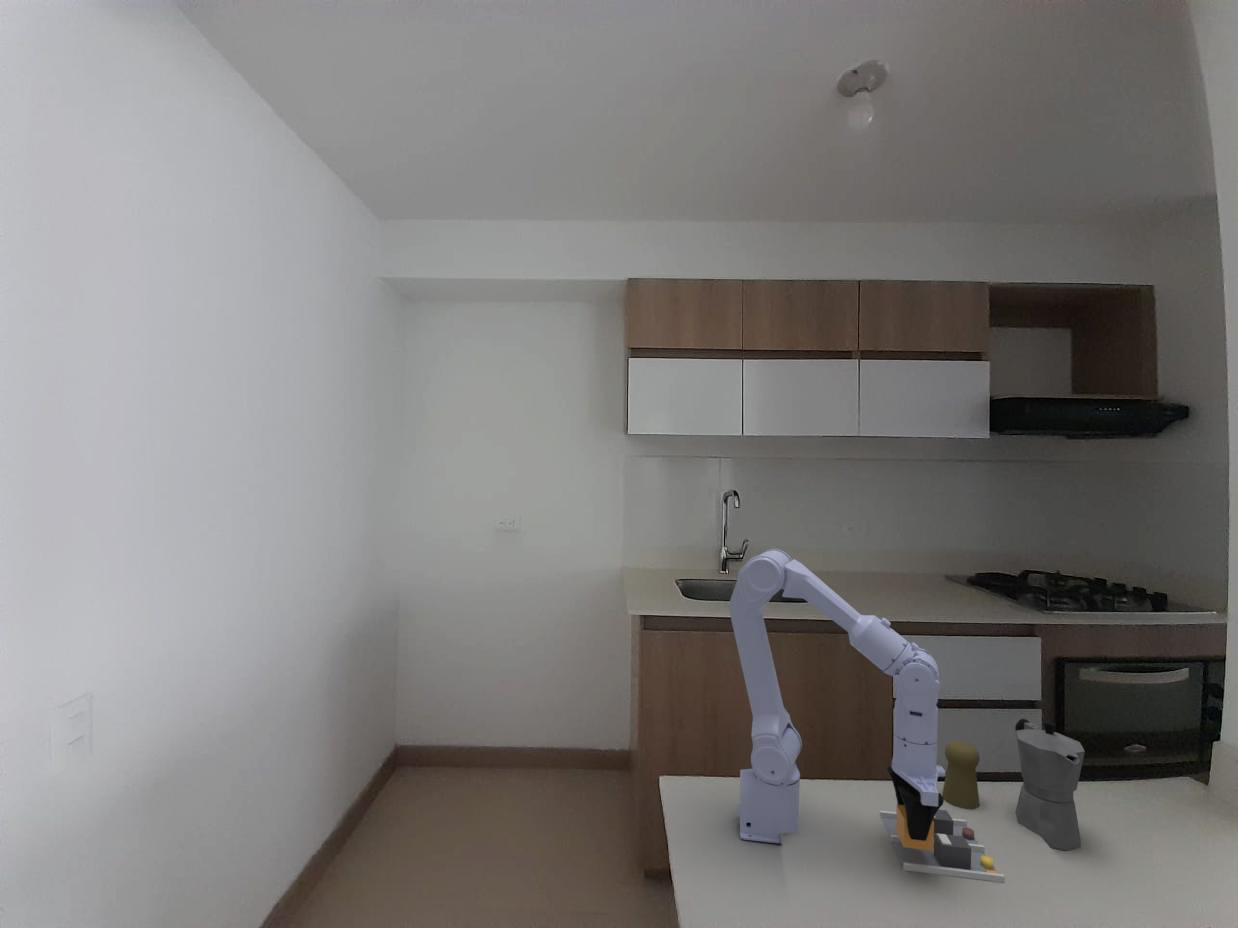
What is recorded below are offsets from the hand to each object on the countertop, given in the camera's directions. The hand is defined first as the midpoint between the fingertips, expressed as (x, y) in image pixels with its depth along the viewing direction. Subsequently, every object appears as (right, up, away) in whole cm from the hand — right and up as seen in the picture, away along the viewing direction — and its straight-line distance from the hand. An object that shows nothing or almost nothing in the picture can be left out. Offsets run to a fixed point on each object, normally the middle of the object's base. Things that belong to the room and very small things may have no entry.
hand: (913, 829), depth 92 cm
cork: (+16, -6, +16) cm, 23 cm away
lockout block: (0, -2, 0) cm, 2 cm away
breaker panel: (+5, -6, +3) cm, 8 cm away
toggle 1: (+6, -4, +6) cm, 10 cm away
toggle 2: (+5, -4, -1) cm, 7 cm away
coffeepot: (+26, -6, +10) cm, 29 cm away
